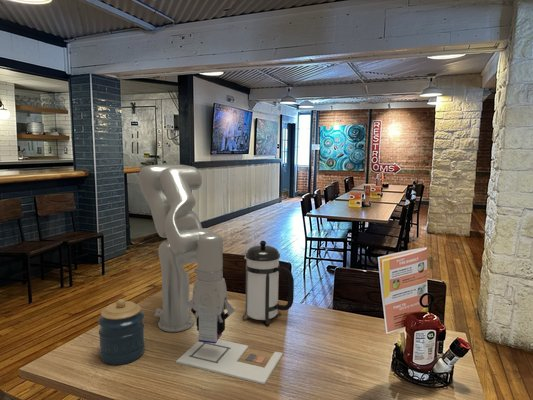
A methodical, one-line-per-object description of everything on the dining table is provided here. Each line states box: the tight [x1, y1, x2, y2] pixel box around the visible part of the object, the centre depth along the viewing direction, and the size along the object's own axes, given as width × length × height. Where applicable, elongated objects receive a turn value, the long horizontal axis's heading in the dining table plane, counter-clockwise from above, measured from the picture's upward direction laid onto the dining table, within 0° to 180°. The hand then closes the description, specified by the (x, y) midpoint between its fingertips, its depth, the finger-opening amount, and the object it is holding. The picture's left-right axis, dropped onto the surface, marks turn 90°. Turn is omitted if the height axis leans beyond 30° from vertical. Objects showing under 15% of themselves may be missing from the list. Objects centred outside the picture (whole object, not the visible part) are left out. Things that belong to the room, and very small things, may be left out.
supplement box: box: [197, 305, 223, 343], centre depth 114 cm, size 6×6×12 cm
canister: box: [97, 298, 146, 366], centre depth 113 cm, size 13×13×18 cm
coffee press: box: [241, 240, 295, 327], centre depth 139 cm, size 17×16×30 cm
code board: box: [175, 338, 283, 386], centre depth 113 cm, size 28×16×1 cm, turn 70°
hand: (210, 330), depth 114 cm, fingers closed on supplement box, 6 cm apart
